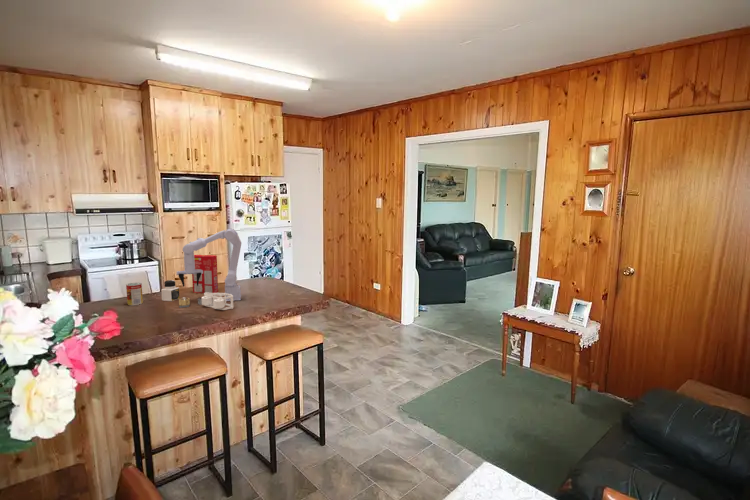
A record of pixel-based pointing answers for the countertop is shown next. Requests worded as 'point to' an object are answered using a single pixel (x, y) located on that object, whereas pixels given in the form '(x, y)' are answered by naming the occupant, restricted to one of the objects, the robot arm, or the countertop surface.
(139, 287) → the canned food
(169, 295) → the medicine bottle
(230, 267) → the robot arm
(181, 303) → the wooden ring
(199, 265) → the food packaging
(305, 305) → the countertop surface
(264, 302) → the countertop surface
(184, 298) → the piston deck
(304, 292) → the countertop surface
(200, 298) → the steel ring
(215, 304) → the car outline toy
